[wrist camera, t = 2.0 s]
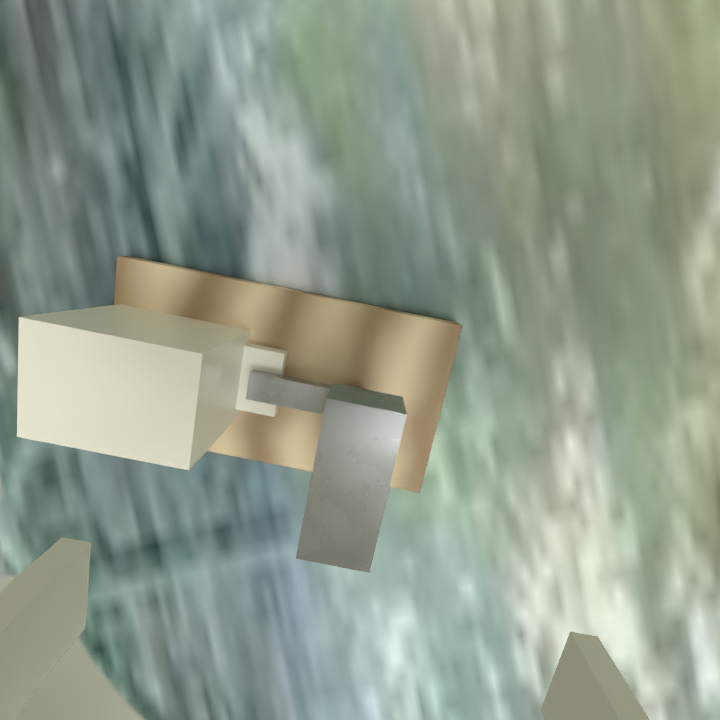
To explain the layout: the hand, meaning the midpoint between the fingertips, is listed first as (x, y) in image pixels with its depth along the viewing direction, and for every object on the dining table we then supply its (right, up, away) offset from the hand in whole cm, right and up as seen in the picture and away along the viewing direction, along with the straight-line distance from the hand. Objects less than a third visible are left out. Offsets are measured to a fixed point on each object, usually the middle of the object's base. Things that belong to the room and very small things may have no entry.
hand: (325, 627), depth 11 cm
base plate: (-5, +6, +22) cm, 24 cm away
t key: (-2, +5, +20) cm, 21 cm away
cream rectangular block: (-11, +7, +20) cm, 24 cm away
